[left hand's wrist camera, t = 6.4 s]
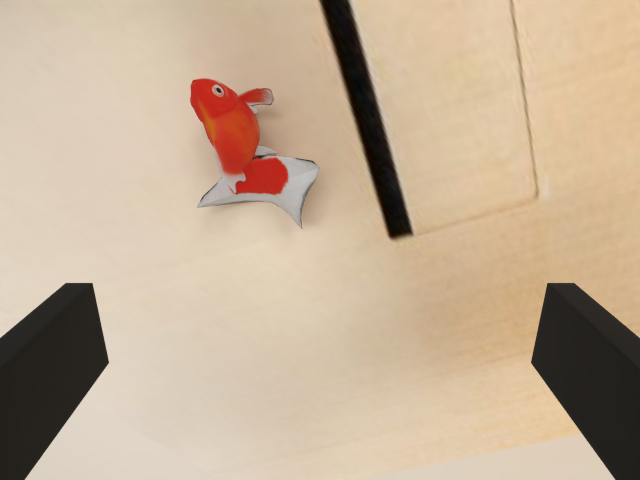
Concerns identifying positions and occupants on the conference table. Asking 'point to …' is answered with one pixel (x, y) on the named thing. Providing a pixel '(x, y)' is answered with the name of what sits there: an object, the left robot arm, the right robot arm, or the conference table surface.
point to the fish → (247, 151)
